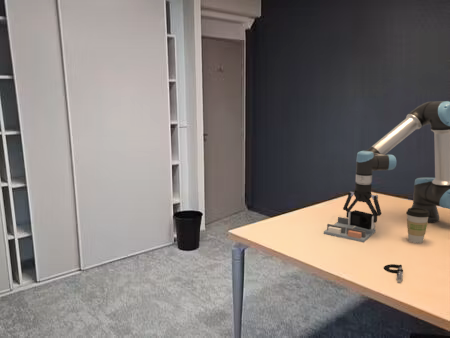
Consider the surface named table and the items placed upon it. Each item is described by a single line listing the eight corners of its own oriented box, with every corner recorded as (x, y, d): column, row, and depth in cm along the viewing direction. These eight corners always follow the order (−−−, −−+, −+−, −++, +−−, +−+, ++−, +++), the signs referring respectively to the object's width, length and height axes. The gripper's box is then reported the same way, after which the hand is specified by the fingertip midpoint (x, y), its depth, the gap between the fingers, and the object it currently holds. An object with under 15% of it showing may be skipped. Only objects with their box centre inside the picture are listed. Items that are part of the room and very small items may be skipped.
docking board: (375, 231, 195) (376, 223, 194) (363, 242, 181) (364, 233, 180) (337, 224, 207) (337, 216, 206) (323, 233, 193) (323, 225, 192)
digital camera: (348, 225, 194) (349, 211, 193) (354, 222, 197) (355, 209, 196) (367, 230, 186) (368, 216, 185) (373, 227, 190) (374, 214, 188)
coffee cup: (418, 246, 175) (420, 214, 173) (399, 239, 184) (401, 209, 181) (432, 242, 180) (434, 211, 177) (413, 235, 188) (415, 206, 186)
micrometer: (384, 265, 157) (384, 259, 157) (403, 268, 154) (403, 262, 154) (381, 280, 144) (381, 274, 144) (402, 284, 141) (402, 278, 140)
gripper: (337, 181, 191) (335, 223, 195) (386, 187, 177) (383, 233, 181) (343, 178, 197) (341, 220, 201) (390, 184, 183) (387, 228, 187)
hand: (361, 226), depth 191 cm, fingers closed on digital camera, 11 cm apart
